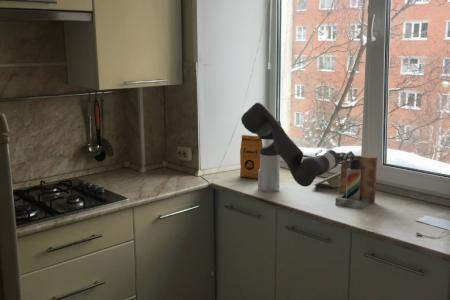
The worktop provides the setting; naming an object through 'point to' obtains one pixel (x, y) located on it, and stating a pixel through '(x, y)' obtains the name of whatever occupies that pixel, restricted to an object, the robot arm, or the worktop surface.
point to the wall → (331, 180)
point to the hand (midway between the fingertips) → (341, 152)
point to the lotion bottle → (353, 181)
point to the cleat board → (366, 183)
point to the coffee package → (250, 156)
